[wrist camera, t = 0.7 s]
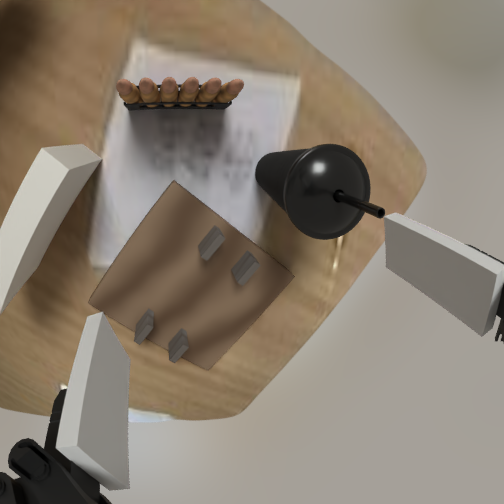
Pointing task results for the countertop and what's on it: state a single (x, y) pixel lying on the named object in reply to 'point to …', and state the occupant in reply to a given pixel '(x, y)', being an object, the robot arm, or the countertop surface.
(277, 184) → the drinking cup
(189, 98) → the ammunition clip
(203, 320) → the clip board
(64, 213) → the door panel
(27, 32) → the countertop surface
